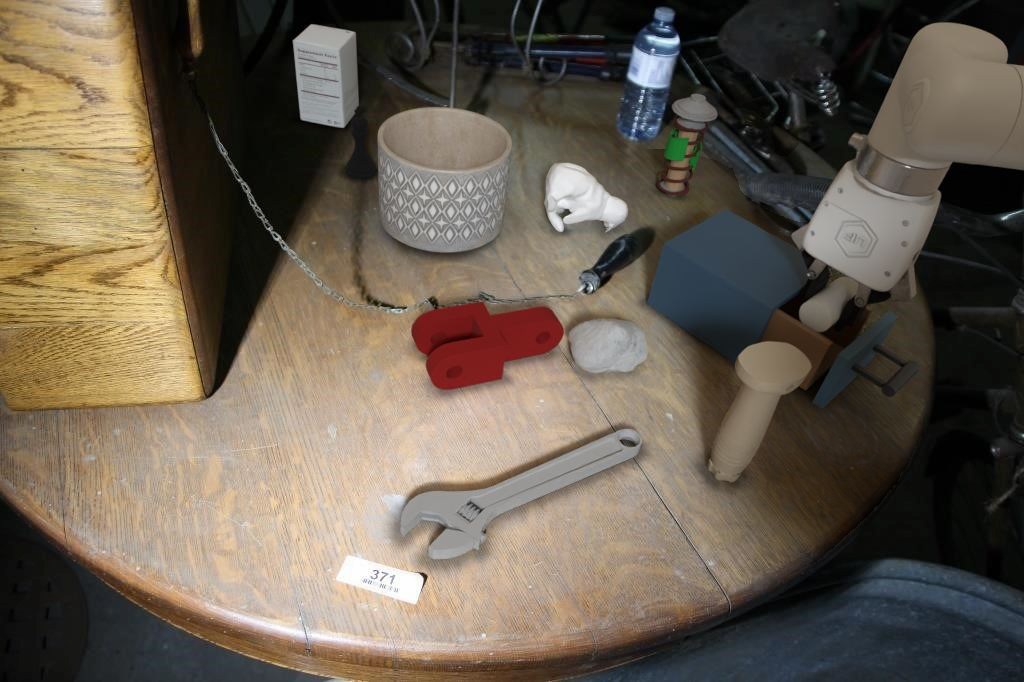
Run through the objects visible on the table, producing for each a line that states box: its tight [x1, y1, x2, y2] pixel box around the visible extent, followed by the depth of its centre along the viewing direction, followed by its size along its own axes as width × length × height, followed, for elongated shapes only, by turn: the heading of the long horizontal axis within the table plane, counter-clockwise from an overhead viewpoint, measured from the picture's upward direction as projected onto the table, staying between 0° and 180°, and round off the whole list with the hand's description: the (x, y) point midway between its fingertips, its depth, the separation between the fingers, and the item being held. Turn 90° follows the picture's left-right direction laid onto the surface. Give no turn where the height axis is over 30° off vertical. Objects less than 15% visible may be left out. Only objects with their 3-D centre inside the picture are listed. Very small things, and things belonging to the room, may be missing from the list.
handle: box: [707, 341, 812, 483], centre depth 69 cm, size 5×6×15 cm
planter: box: [377, 106, 513, 254], centre depth 96 cm, size 16×16×13 cm
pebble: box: [567, 317, 649, 374], centre depth 83 cm, size 9×8×5 cm
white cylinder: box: [799, 276, 860, 332], centre depth 81 cm, size 7×4×4 cm, turn 133°
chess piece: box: [344, 105, 378, 180], centre depth 105 cm, size 4×4×10 cm
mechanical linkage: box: [410, 300, 565, 391], centre depth 81 cm, size 16×7×5 cm, turn 112°
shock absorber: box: [656, 93, 719, 197], centre depth 108 cm, size 6×6×15 cm
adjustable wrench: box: [399, 428, 643, 560], centre depth 69 cm, size 25×6×2 cm, turn 117°
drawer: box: [760, 282, 921, 410], centre depth 83 cm, size 18×11×7 cm, turn 43°
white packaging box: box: [292, 23, 360, 129], centre depth 116 cm, size 7×7×13 cm
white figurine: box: [543, 162, 629, 233], centre depth 101 cm, size 6×8×12 cm
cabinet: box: [646, 208, 831, 364], centre depth 89 cm, size 15×13×9 cm
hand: (825, 314), depth 82 cm, fingers closed on white cylinder, 3 cm apart
